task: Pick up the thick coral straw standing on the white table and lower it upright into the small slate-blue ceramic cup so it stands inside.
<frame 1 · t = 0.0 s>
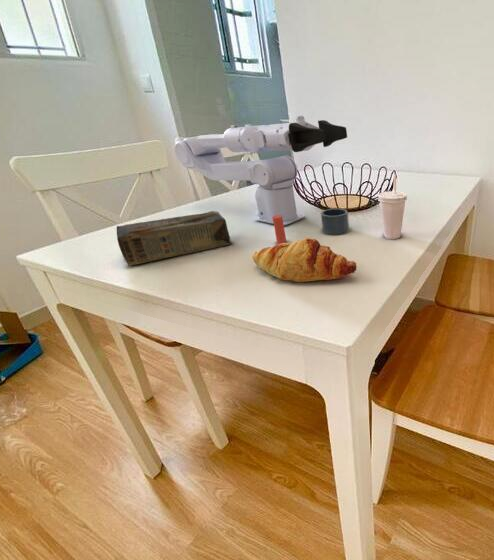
hand: (335, 134, 72), 22 cm above the table, tool horizontal, fingers open, 7 cm apart
smoothie: (392, 236, 80), on the table
cup: (335, 230, 83), on the table
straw: (281, 242, 76), on the table
coffee bag: (181, 250, 73), on the table
croissant: (304, 272, 63), on the table
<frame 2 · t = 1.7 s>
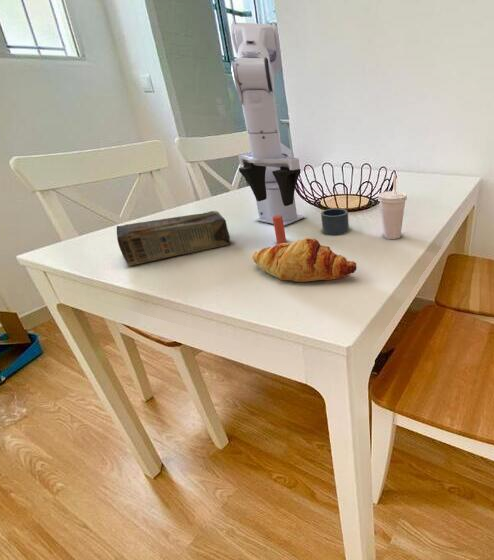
hand: (274, 202, 72), 9 cm above the table, tool pointing down, fingers open, 7 cm apart
nothing on the table moved.
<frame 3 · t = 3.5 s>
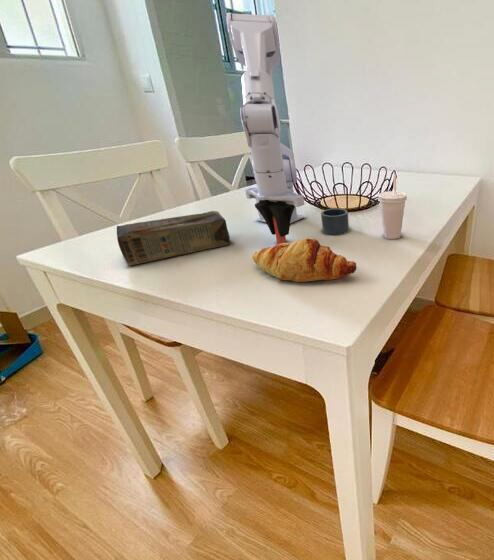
hand: (280, 234, 75), 2 cm above the table, tool pointing down, fingers closed on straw, 2 cm apart
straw: (281, 242, 76), on the table, touching gripper
everything else where it was.
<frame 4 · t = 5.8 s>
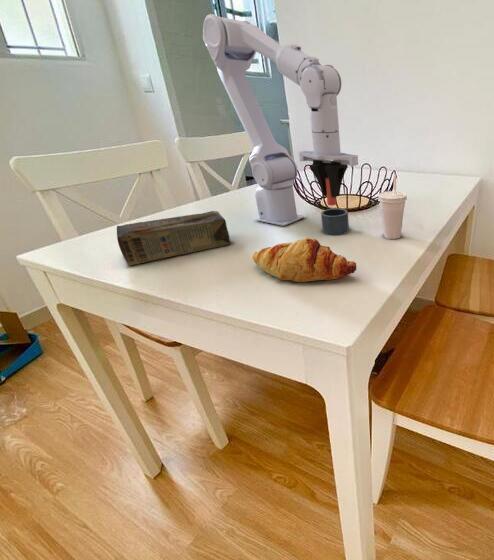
hand: (331, 195, 79), 9 cm above the table, tool pointing down, fingers closed on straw
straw: (332, 204, 80), point 7 cm above the table, touching gripper
everything else where it was.
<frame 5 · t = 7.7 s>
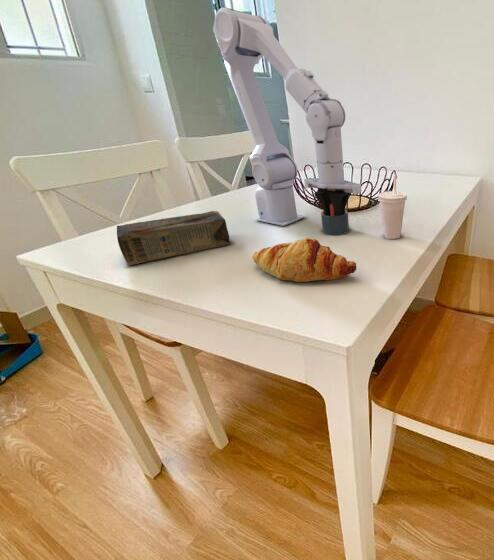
hand: (335, 220, 82), 2 cm above the table, tool pointing down, fingers closed, pressing on cup, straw
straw: (335, 228, 83), resting on cup, touching gripper
everything else where it was.
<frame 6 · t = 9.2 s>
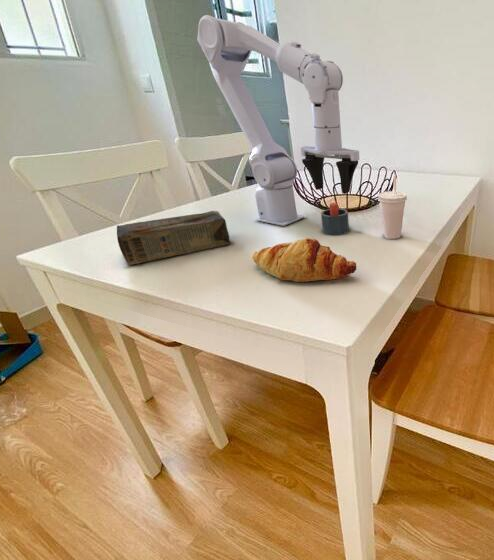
hand: (332, 190, 80), 9 cm above the table, tool pointing down, fingers open, 7 cm apart
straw: (335, 228, 83), resting on cup
everything else where it was.
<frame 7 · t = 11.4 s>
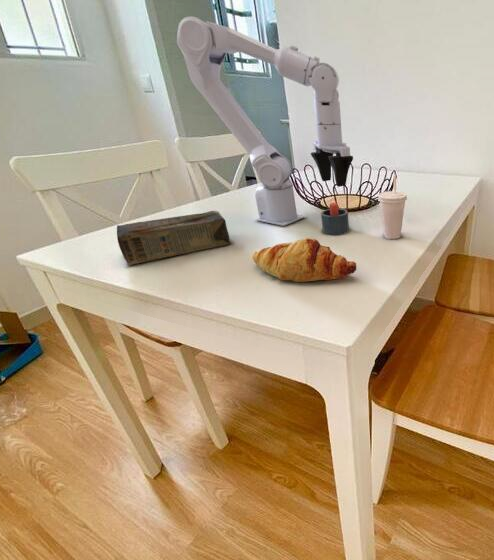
hand: (333, 183, 86), 9 cm above the table, tool pointing down, fingers open, 7 cm apart
nothing on the table moved.
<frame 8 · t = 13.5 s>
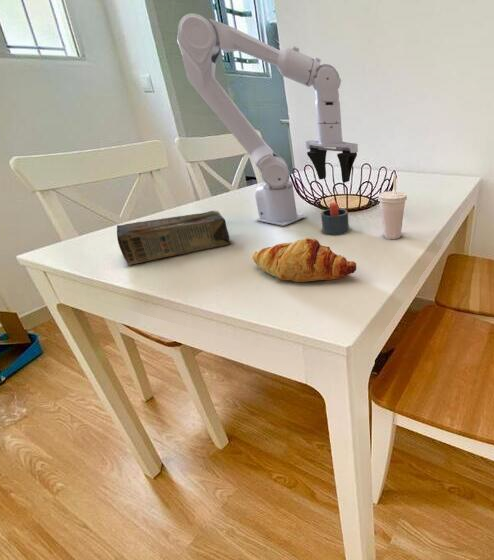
hand: (334, 180, 89), 9 cm above the table, tool pointing down, fingers open, 7 cm apart
nothing on the table moved.
at the end: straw 0.0 cm off-centre in the cup, point 0.5 cm above the cup's base; the gripper is holding nothing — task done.
